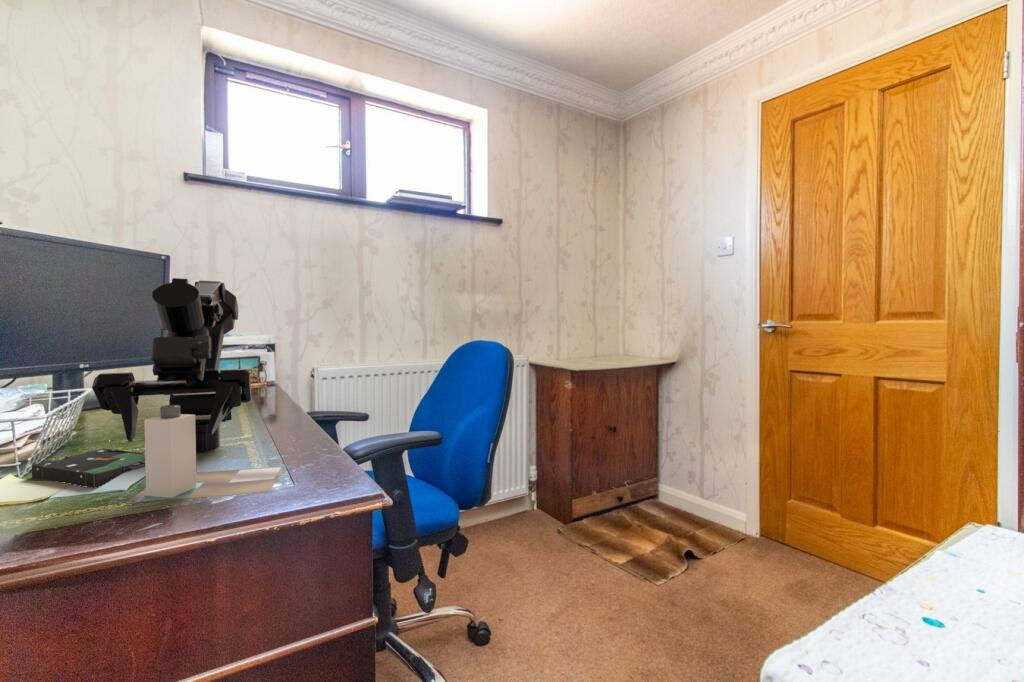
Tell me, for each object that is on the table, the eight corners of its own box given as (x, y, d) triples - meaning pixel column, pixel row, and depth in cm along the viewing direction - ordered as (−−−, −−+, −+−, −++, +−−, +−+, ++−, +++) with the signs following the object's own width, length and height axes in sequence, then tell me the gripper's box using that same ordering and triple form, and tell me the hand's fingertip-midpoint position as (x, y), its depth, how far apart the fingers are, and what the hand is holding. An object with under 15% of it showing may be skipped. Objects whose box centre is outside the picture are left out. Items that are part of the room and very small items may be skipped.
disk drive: (29, 482, 72) (95, 491, 68) (28, 464, 72) (94, 473, 68) (104, 463, 82) (165, 470, 78) (103, 447, 82) (165, 454, 78)
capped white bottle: (171, 485, 66) (170, 403, 65) (196, 487, 65) (195, 404, 65) (145, 495, 62) (144, 408, 61) (172, 497, 61) (170, 409, 61)
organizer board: (164, 482, 71) (164, 474, 71) (285, 473, 76) (285, 465, 75) (124, 513, 59) (123, 504, 59) (269, 500, 64) (269, 491, 64)
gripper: (95, 316, 63) (63, 408, 54) (249, 318, 72) (245, 398, 62) (115, 366, 71) (90, 456, 61) (252, 363, 79) (249, 441, 70)
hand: (171, 436), depth 64 cm, fingers open, 9 cm apart
